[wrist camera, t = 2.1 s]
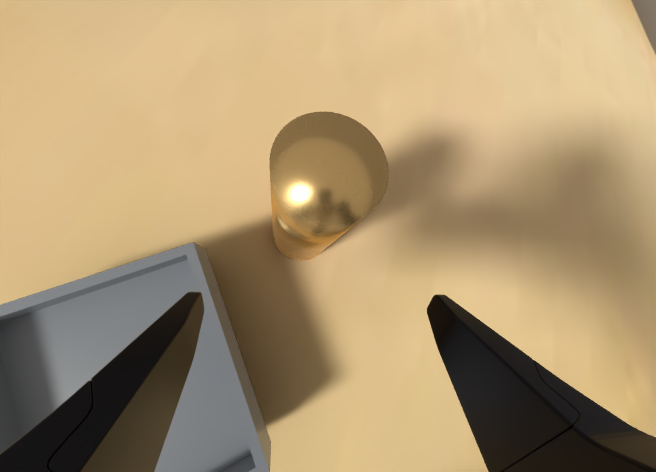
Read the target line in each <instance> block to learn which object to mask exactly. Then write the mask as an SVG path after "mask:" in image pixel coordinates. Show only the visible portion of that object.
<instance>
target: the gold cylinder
mask: <svg viewBox="0 0 656 472" xmlns="http://www.w3.org/2000/svg"><path fill="white" fill-rule="evenodd" d="M270 182H271V202H272V223H273V238H274V241H275V244H276V246H277V247H278V249H279V250H280V251H281V252H282V253H283V254H284V255H286V256H287V257H289V258H291V259H295V260H308V259H311V258H314V257H315V256H317V255H318V254H320V253H321V252H322V251H323V250H324V249H326V248H327V247H328V246H329V245H331V244H332V243H333V242H334V241H336V240H337V239H338V238H339V237H340V236H342V235H343V234H344V233H345V232H347V231H348V230H349V229H350V228H352V227H353V226H354V225H355V224H356V223H358V222H359V221H360V220H361V219H363V218H364V217H365V216H366V215H367V214H369V213H370V212H371V211H372V210H373V209H374V208H375V207H376V206H377V205H378V204H379V202H380V201H381V199H382V197H383V195H384V193H385V191H386V187H387V183H388V164H387V160H386V156H385V153H384V151H383V149H382V147H381V145H380V143H379V142H378V140H377V139H376V138H375V136H374V135H373V134H372V133H371V132H370V131H369V130H368V129H367V128H366V127H364V126H363V125H362V124H360V123H359V122H357V121H356V120H354V119H352V118H350V117H347V116H345V115H342V114H338V113H333V112H314V113H309V114H305V115H302V116H300V117H298V118H296V119H294V120H292V121H291V122H289V123H288V124H287V125H286V126H285V127H284V128H283V129H282V130H281V131H280V132H279V134H278V135H277V137H276V139H275V141H274V143H273V146H272V149H271V153H270Z"/></svg>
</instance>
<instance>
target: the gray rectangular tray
mask: <svg viewBox="0 0 656 472" xmlns="http://www.w3.org/2000/svg"><path fill="white" fill-rule="evenodd" d="M188 292H201V293H202V297H203V303H204V315H203V320H202V324H201V329H200V333H199V338H198V342H197V347H196V351H195V355H194V359H193V362H192V365H191V368H190V371H189V373H188V376H187V379H186V382H185V385H184V388H183V391H182V394H181V396H180V399H179V402H178V405H177V408H176V411H175V414H174V417H173V419H172V422H171V425H170V428H169V431H168V434H167V437H166V440H165V442H164V445H163V448H162V451H161V454H160V457H159V460H158V463H157V465H156V468H155V471H154V472H270V454H271V441H270V438H269V435H268V432H267V429H266V426H265V423H264V420H263V417H262V414H261V411H260V408H259V405H258V402H257V399H256V396H255V393H254V390H253V387H252V384H251V381H250V378H249V376H248V373H247V370H246V367H245V364H244V361H243V358H242V355H241V352H240V349H239V346H238V343H237V340H236V337H235V334H234V331H233V328H232V325H231V322H230V319H229V316H228V314H227V311H226V308H225V305H224V302H223V299H222V296H221V293H220V290H219V287H218V284H217V281H216V278H215V275H214V272H213V269H212V266H211V263H210V260H209V257H208V254H207V251H206V249H204V248H202V247H201V246H199V245H197V244H195V243H194V242H193V243H190V244H187V245H183V246H180V247H177V248H174V249H171V250H168V251H165V252H162V253H159V254H156V255H153V256H150V257H146V258H143V259H140V260H137V261H134V262H131V263H128V264H125V265H122V266H119V267H116V268H113V269H109V270H106V271H103V272H100V273H97V274H94V275H91V276H88V277H85V278H82V279H79V280H76V281H72V282H69V283H66V284H63V285H60V286H57V287H54V288H51V289H48V290H45V291H42V292H39V293H35V294H32V295H29V296H26V297H23V298H20V299H17V300H14V301H11V302H8V303H5V304H2V305H0V454H1V453H2V452H3V451H4V450H6V449H7V448H8V447H10V446H11V445H12V444H13V443H15V442H16V441H17V440H18V439H20V438H21V437H22V436H24V435H25V434H26V433H27V432H29V431H30V430H31V429H32V428H33V427H35V426H36V425H37V424H38V423H40V422H41V421H42V420H43V419H45V418H46V417H47V416H48V415H50V414H51V413H52V412H53V411H54V410H55V409H57V408H58V407H59V406H60V405H61V404H62V403H64V402H65V401H66V400H67V399H68V398H69V397H71V396H72V395H73V394H74V393H75V392H76V391H77V390H79V389H80V388H81V387H82V386H83V385H84V384H85V383H86V382H87V381H89V380H91V378H92V377H93V376H94V375H95V374H97V373H98V372H99V371H100V370H101V369H102V368H103V367H104V366H106V365H107V364H108V363H109V362H110V361H111V360H112V359H113V358H114V357H116V356H117V355H118V354H119V353H120V352H121V351H122V350H123V349H125V348H126V347H127V346H128V345H129V344H130V343H131V342H132V341H133V340H135V339H136V338H137V337H138V336H139V335H140V334H141V333H142V332H144V331H145V330H146V329H147V328H148V327H149V326H150V325H151V324H153V323H154V322H155V321H156V320H157V319H158V318H159V317H160V316H161V315H163V314H164V313H165V312H166V311H167V310H168V309H169V308H170V307H172V306H173V305H174V304H175V303H176V302H177V301H178V300H179V299H180V298H182V297H183V296H184V295H185V294H186V293H188Z"/></svg>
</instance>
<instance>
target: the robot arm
mask: <svg viewBox="0 0 656 472" xmlns="http://www.w3.org/2000/svg"><path fill="white" fill-rule="evenodd" d="M203 315H204V303H203V297H202V293H201V292H188V293H186V294H185V295H184V296H183V297H182V298H180V299H179V300H178V301H177V302H176V303H175V304H174V305H173V306H172V307H170V308H169V309H168V310H167V311H166V312H165V313H164V314H163V315H161V316H160V317H159V318H158V319H157V320H156V321H155V322H154V323H153V324H151V325H150V326H149V327H148V328H147V329H146V330H145V331H144V332H142V333H141V334H140V335H139V336H138V337H137V338H136V339H135V340H133V341H132V342H131V343H130V344H129V345H128V346H127V347H126V348H125V349H123V350H122V351H121V352H120V353H119V354H118V355H117V356H116V357H114V358H113V359H112V360H111V361H110V362H109V363H108V364H107V365H106V366H104V367H103V368H102V369H101V370H100V371H99V372H98V373H97V374H95V375H94V376H93V377H92V378H91V380H89V381H87V382H86V383H85V384H84V385H83V386H82V387H81V388H80V389H79V390H77V391H76V392H75V393H74V394H73V395H72V396H71V397H69V398H68V399H67V400H66V401H65V402H64V403H62V404H61V405H60V406H59V407H58V408H57V409H55V410H54V411H53V412H52V413H51V414H50V415H48V416H47V417H46V418H45V419H43V420H42V421H41V422H40V423H38V424H37V425H36V426H35V427H33V428H32V429H31V430H30V431H29V432H27V433H26V434H25V435H24V436H22V437H21V438H20V439H18V440H17V441H16V442H15V443H13V444H12V445H11V446H10V447H8V448H7V449H6V450H4V451H3V452H2V453H1V454H0V472H154V471H155V468H156V465H157V463H158V460H159V457H160V454H161V451H162V448H163V445H164V442H165V440H166V437H167V434H168V431H169V428H170V425H171V422H172V419H173V417H174V414H175V411H176V408H177V405H178V402H179V399H180V396H181V394H182V391H183V388H184V385H185V382H186V379H187V376H188V373H189V371H190V368H191V365H192V362H193V359H194V355H195V351H196V347H197V342H198V338H199V333H200V329H201V324H202V320H203ZM427 315H428V318H429V321H430V324H431V328H432V331H433V334H434V338H435V341H436V344H437V347H438V350H439V352H440V355H441V357H442V360H443V362H444V365H445V367H446V370H447V372H448V374H449V377H450V379H451V382H452V384H453V386H454V389H455V391H456V394H457V396H458V399H459V401H460V403H461V406H462V408H463V411H464V413H465V416H466V418H467V420H468V423H469V425H470V428H471V430H472V433H473V435H474V437H475V440H476V442H477V445H478V447H479V449H480V452H481V454H482V457H483V459H484V462H485V464H486V466H487V469H488V471H489V472H656V437H653V436H651V435H648V434H646V433H644V432H642V431H640V430H638V429H636V428H634V427H632V426H630V425H629V424H627V423H626V422H624V421H622V420H621V419H619V418H618V417H616V416H615V415H613V414H612V413H610V412H609V411H607V410H606V409H604V408H603V407H601V406H600V405H598V404H597V403H595V402H594V401H592V400H591V399H589V398H588V397H586V396H585V395H583V394H582V393H580V392H579V391H577V390H576V389H574V388H573V387H571V386H570V385H568V384H567V383H565V382H564V381H562V380H561V379H559V378H558V377H557V376H555V375H554V374H552V373H551V372H550V371H548V370H547V369H545V368H544V367H543V366H541V365H540V364H539V363H537V362H536V361H534V360H532V358H530V357H529V356H528V355H526V354H525V353H524V352H522V351H521V350H519V349H518V348H517V347H515V346H514V345H513V344H511V343H510V342H509V341H507V340H506V339H504V338H503V337H502V336H500V335H499V334H498V333H496V332H495V331H494V330H492V329H491V328H489V327H488V326H487V325H485V324H484V323H483V322H481V321H480V320H479V319H477V318H476V317H474V316H473V315H472V314H470V313H469V312H468V311H466V310H465V309H464V308H462V307H461V306H459V305H458V304H457V303H455V302H454V301H453V300H451V299H450V298H448V297H447V296H446V295H434V296H433V298H432V300H431V302H430V304H429V305H428V308H427Z"/></svg>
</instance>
